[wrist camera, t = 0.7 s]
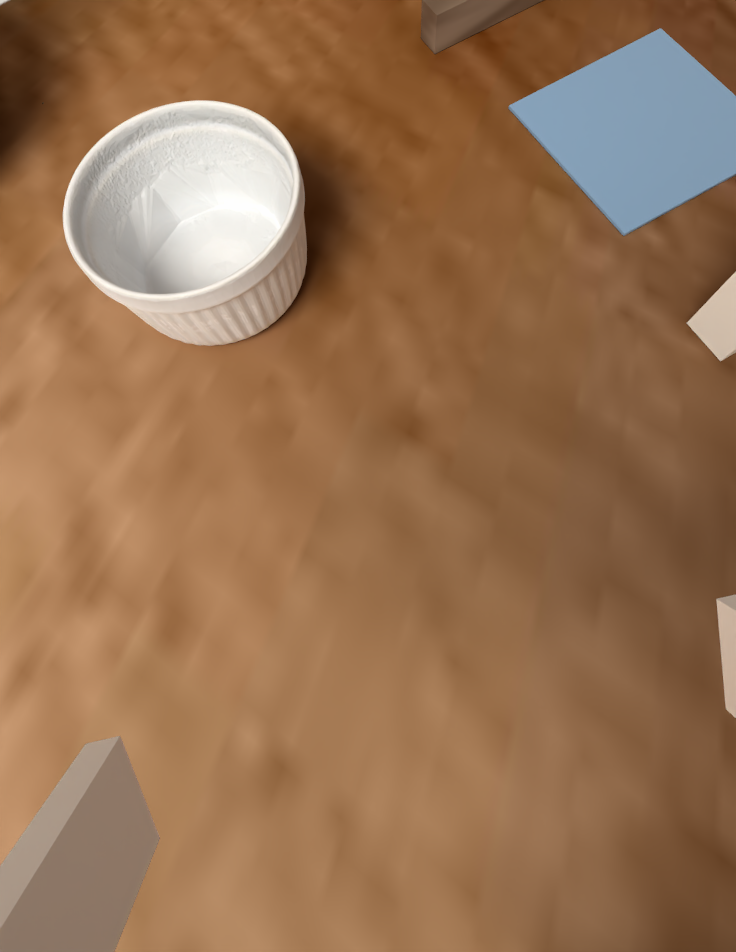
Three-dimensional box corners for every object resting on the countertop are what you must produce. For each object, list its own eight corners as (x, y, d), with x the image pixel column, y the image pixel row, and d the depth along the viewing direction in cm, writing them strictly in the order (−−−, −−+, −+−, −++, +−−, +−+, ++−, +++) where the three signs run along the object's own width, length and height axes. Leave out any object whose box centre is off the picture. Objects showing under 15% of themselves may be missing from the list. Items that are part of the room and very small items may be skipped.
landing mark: (786, 147, 33) (789, 144, 33) (623, 235, 32) (624, 233, 32) (659, 31, 37) (660, 28, 36) (508, 108, 36) (509, 105, 35)
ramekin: (241, 401, 31) (196, 341, 24) (87, 307, 34) (9, 230, 27) (359, 245, 34) (348, 153, 27) (207, 169, 36) (163, 68, 30)
